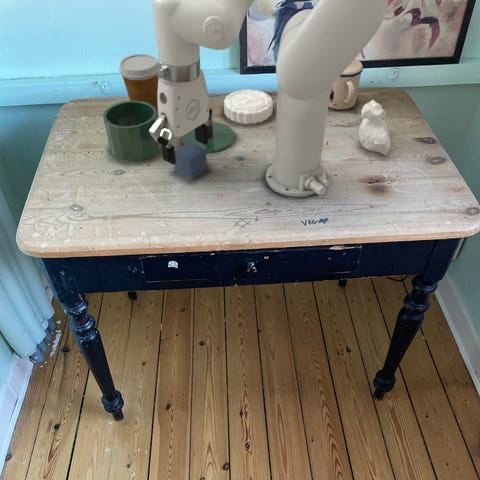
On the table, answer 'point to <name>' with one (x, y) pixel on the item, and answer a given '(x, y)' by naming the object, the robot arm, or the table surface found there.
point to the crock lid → (212, 137)
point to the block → (190, 160)
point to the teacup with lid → (346, 87)
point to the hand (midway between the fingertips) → (185, 151)
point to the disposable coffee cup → (141, 78)
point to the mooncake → (248, 106)
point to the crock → (131, 130)
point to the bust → (374, 129)
